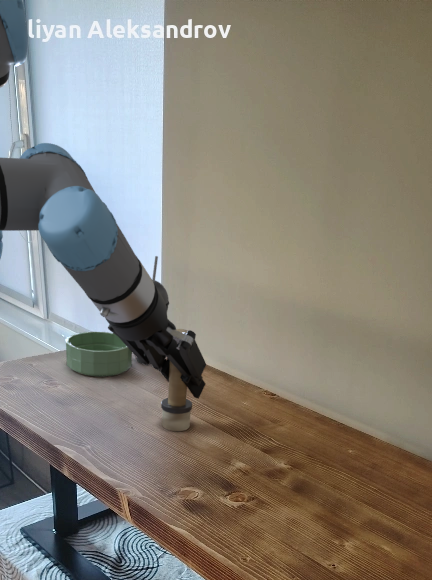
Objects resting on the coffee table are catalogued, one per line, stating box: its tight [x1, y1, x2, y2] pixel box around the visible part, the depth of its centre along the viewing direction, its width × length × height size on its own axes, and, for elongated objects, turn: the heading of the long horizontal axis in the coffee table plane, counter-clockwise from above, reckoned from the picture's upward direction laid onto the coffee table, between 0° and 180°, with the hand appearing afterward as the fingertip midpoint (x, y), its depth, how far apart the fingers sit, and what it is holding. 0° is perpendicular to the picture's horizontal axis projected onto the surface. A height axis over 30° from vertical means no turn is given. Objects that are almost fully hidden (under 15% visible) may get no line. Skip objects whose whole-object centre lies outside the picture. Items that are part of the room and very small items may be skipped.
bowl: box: [65, 331, 133, 377], centre depth 117 cm, size 12×12×5 cm
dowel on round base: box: [160, 328, 193, 432], centre depth 95 cm, size 5×5×15 cm
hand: (190, 387), depth 99 cm, fingers closed on dowel on round base, 3 cm apart
